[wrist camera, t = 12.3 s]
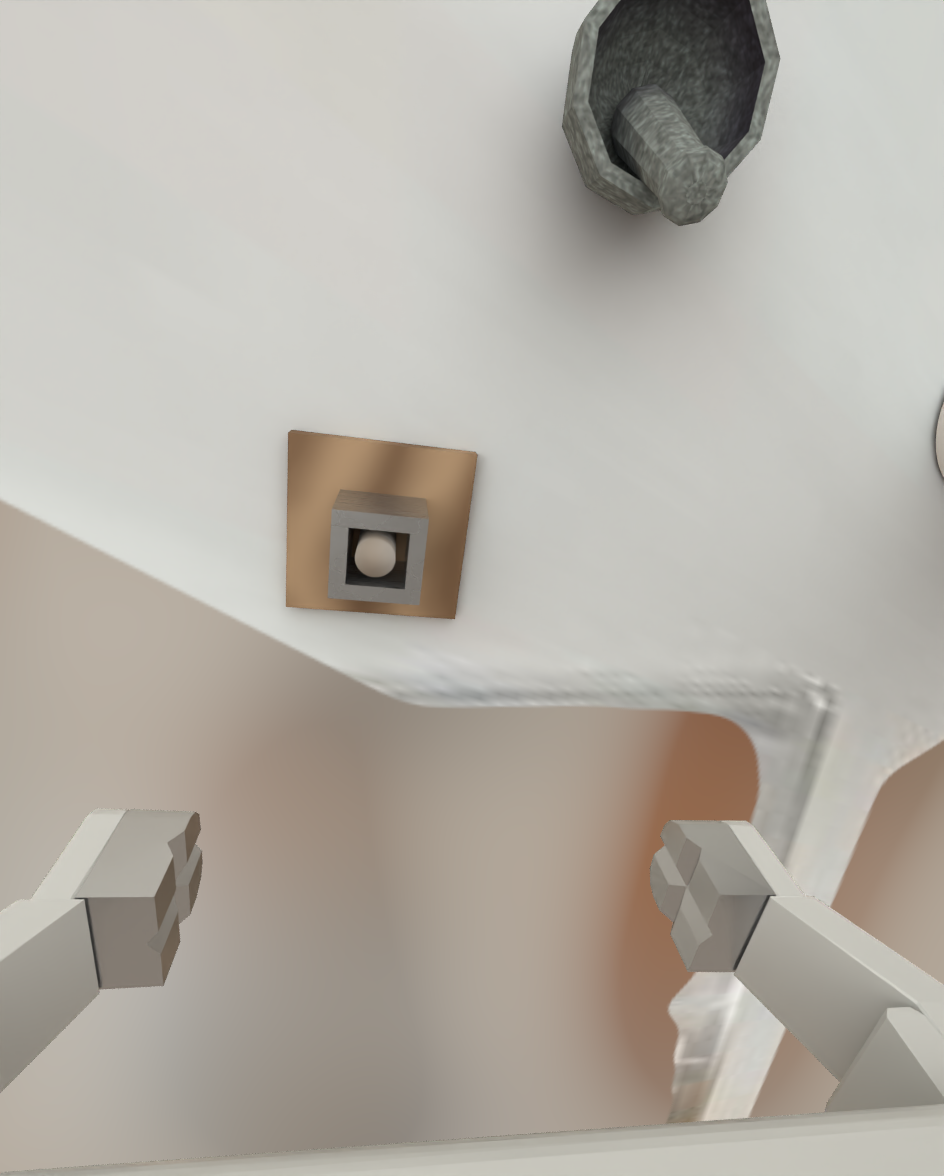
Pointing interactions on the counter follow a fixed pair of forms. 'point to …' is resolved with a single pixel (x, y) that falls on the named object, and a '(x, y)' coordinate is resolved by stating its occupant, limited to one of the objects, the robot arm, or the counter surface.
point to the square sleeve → (380, 516)
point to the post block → (386, 470)
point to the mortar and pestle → (668, 100)
